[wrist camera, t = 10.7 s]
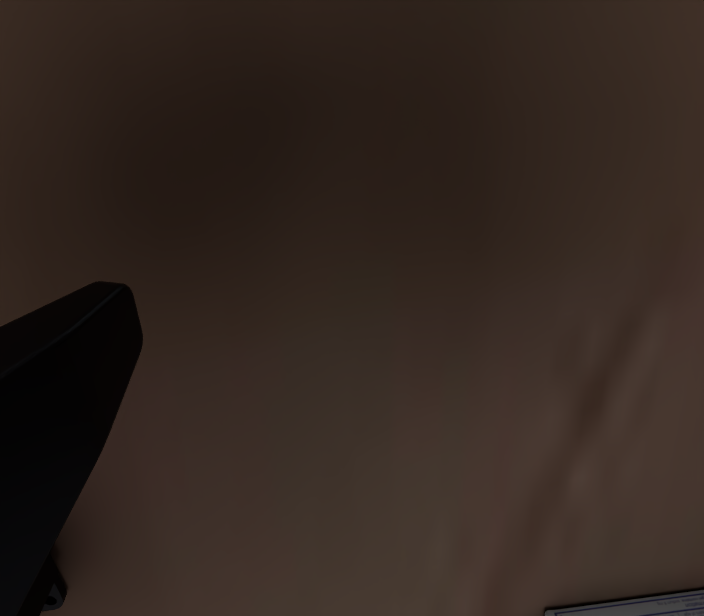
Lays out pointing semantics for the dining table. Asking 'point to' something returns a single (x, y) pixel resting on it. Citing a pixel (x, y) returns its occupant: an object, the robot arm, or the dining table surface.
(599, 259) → the dining table surface
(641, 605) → the medicine box
